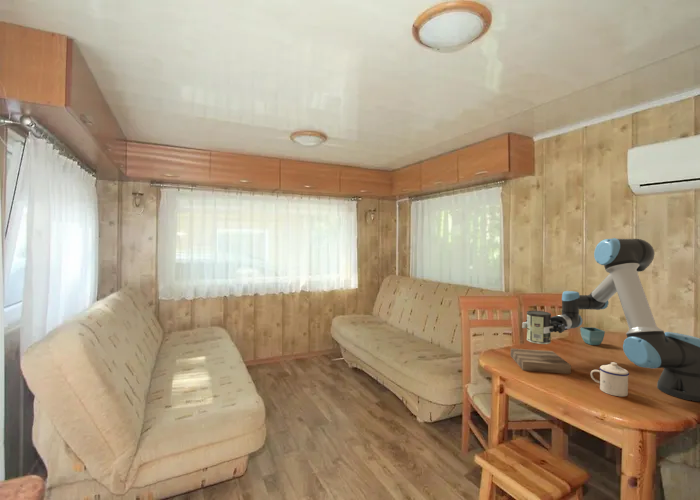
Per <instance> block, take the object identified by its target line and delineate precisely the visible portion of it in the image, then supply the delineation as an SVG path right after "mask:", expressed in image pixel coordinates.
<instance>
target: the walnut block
mask: <svg viewBox="0 0 700 500" xmlns="http://www.w3.org/2000/svg"><path fill="white" fill-rule="evenodd" d="M510 357H511V358H512V359H513V361H515V363H516V364H517V366H519V367H520V369H521V370H522V371H528V372H540V373H541V372H542V373H556V374H567V375H571V373H572V371H571V370H572V365H571V364H570V363H568V361H566V360H565V359H564V358H562V357H561V356H560V355H558V354H557V353H556V352H554V351H553V350H542V349H541V350H539V349H527V348H526V349H525V348H510Z"/></svg>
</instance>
